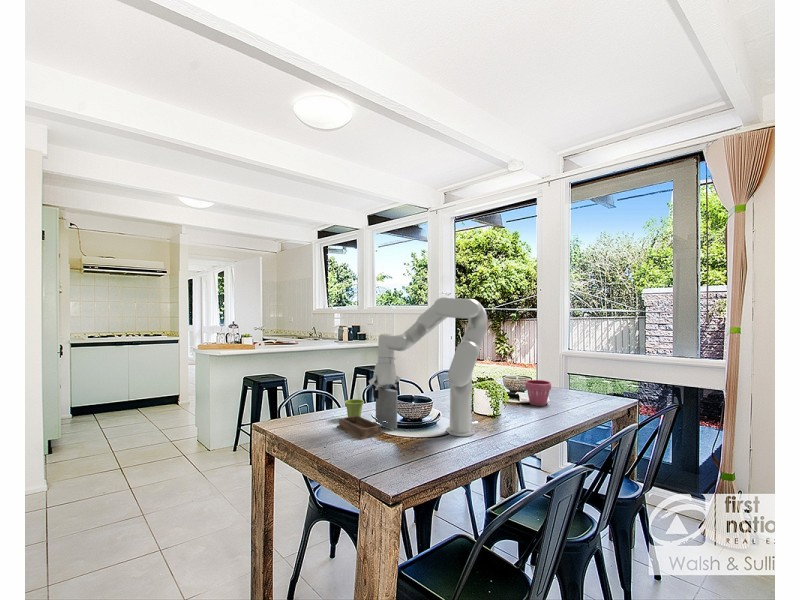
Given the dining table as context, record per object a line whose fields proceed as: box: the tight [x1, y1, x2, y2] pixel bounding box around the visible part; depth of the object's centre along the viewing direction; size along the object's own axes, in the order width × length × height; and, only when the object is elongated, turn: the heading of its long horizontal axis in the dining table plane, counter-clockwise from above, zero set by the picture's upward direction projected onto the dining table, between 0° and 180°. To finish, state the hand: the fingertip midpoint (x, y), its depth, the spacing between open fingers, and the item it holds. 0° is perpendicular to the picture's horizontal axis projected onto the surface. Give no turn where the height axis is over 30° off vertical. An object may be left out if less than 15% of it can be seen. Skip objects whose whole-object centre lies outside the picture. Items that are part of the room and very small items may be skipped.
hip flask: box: [375, 384, 399, 429], centre depth 199 cm, size 16×4×20 cm, turn 35°
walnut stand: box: [336, 416, 384, 440], centre depth 190 cm, size 12×20×4 cm, turn 37°
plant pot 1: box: [344, 398, 365, 417], centre depth 209 cm, size 9×9×9 cm
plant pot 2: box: [524, 379, 552, 407], centre depth 245 cm, size 14×14×13 cm
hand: (384, 396), depth 199 cm, fingers open, 9 cm apart
